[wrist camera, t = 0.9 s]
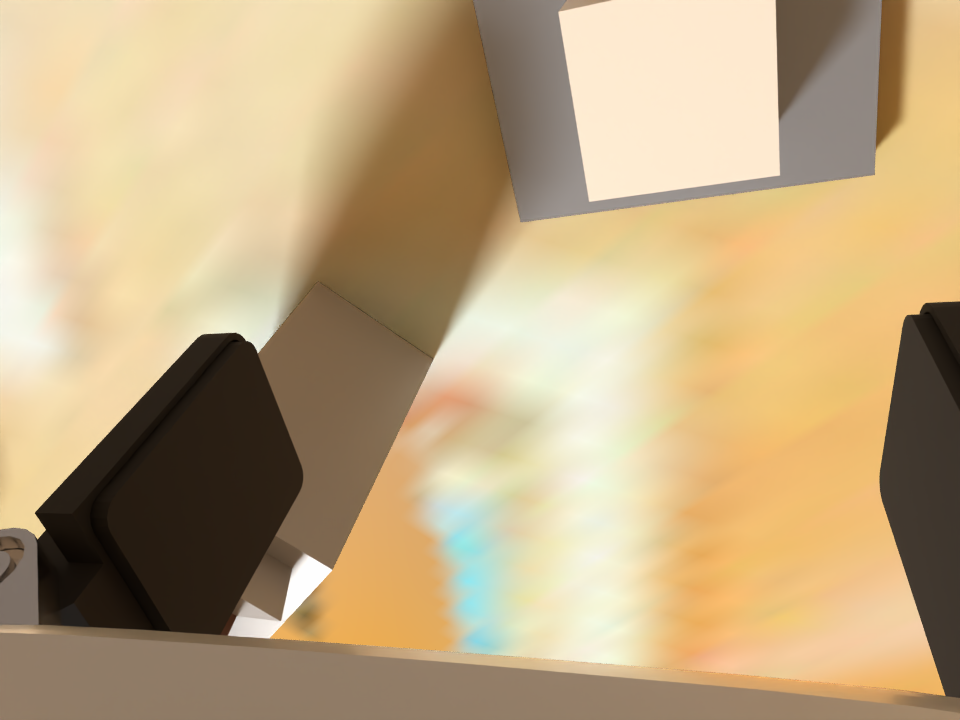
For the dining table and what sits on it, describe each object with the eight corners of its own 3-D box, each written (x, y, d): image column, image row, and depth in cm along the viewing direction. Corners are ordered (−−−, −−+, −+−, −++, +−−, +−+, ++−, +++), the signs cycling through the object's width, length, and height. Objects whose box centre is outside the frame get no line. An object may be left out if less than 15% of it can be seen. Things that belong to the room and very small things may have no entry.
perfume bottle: (318, 281, 36) (77, 571, 22) (433, 359, 37) (277, 684, 23) (265, 367, 40) (29, 663, 26) (371, 435, 41) (203, 756, 27)
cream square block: (761, -52, 24) (774, -36, 20) (767, 135, 27) (779, 175, 24) (573, -9, 26) (558, 11, 22) (599, 161, 29) (589, 201, 25)
